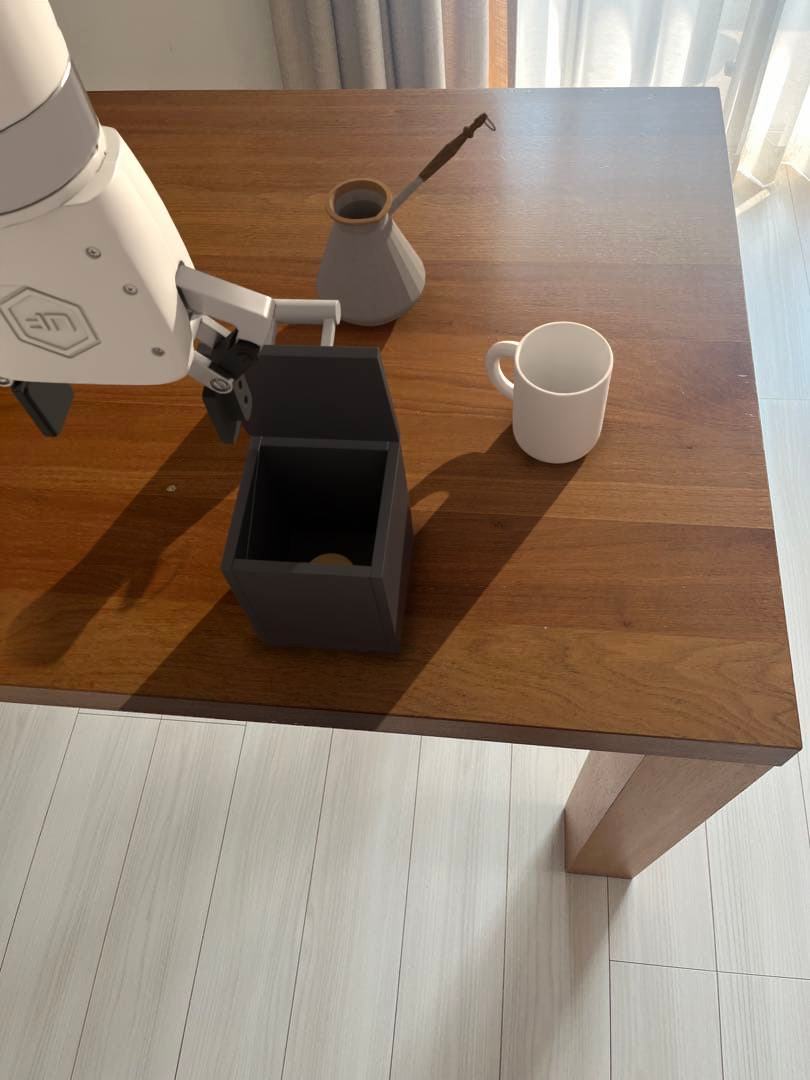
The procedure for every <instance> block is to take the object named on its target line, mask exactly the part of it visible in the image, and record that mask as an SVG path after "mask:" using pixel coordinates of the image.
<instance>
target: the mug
mask: <svg viewBox="0 0 810 1080" xmlns="http://www.w3.org/2000/svg"><path fill="white" fill-rule="evenodd" d="M502 358H509V359H511V360H514V361H513V364H514V365H513V383H512V382H511V381H509V380H508V378H507V377H506V376H505V375H504V373H503V372H502V369H501V365H500V361H501V359H502ZM484 361H485V362H484V364H485V372H486V375H487V377H488V379H489V381H490V383H491V384H492V385H493V387H494V388H495V389H496V390H497V391H498V393H500V394H501V395H503V397H505V398H507V399H508V400H509V401H511V402H512V433H513V436H514V439H515V441H516V443H517V444H518V446H519V447H520V449H522V451H524V453H526V455H528V456H530V457H532V458H534V459H535V460H537V461H541V462H544V463H549V464H566V463H571V462H574V461H577V460H579V459H581V458H582V457H584V456H586V455H587V454H588V453H590V452H591V450H593V449H594V448H595V446H596V444H597V442H598V440H599V439H600V435H601V433H602V428H603V423H604V419H605V418H604V417H605V412H606V411H605V410H606V406H607V400H608V395H609V389H610V385H611V384H610V383H611V377H612V373H613V366H614V354H613V350H612V348H611V345H610V344H609V342H608V340H607V339H606V338H605V337H604V335H602V334H601V333H600V332H598V331H597V330H595V329H593V328H592V327H590V326H587V325H585V324H582V323H578V322H573V321H552V322H549V323H545V324H542V325H539V326H537V327H535V328H533V329H531V330H530V331H528V332H527V333H526V334H525V335H524V336H523V337H522V338H521V340H520V341H515V340H502V341H498V342H496V343H494V344H493V345H492V346H490V348H489V349H488V351H487V352H486V355H485V359H484Z"/></svg>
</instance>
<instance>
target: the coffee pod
mask: <svg viewBox="0 0 810 1080" xmlns="http://www.w3.org/2000/svg"><path fill="white" fill-rule="evenodd" d="M310 563H318V564H336V565H353V564H352V563H351V561H350V560H349V559H347V558H346V557H344V556H342V555H339V554H335V553H328V554H323V555H320V556H318V557H316V558H314V559H313V560H312V561H311V562H310Z"/></svg>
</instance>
